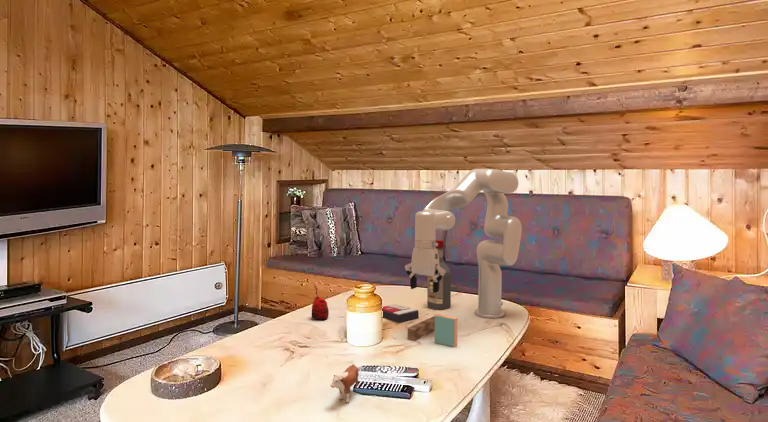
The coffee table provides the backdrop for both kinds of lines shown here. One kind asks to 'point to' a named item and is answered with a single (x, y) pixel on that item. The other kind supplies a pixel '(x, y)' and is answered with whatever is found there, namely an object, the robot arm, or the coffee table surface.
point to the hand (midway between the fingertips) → (424, 290)
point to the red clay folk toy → (319, 308)
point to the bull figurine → (346, 381)
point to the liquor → (440, 285)
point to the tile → (446, 330)
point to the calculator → (399, 313)
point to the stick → (421, 329)
